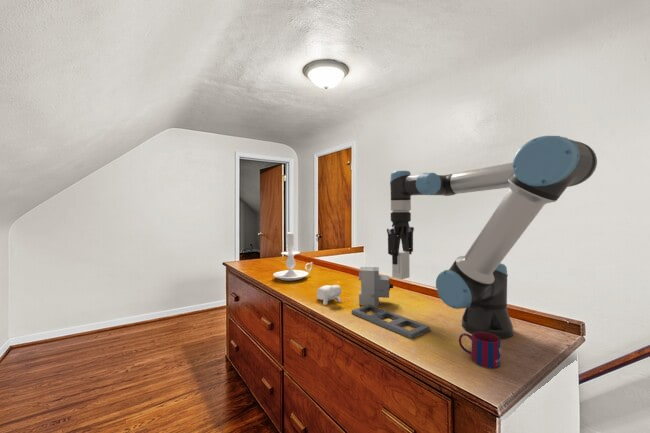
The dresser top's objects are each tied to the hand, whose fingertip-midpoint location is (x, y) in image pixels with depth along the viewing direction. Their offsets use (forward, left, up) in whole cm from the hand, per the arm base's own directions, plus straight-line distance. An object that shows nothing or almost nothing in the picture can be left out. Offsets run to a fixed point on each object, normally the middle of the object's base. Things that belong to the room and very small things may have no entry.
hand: (400, 271), depth 113 cm
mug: (-35, +11, -17) cm, 40 cm away
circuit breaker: (+15, -2, -17) cm, 23 cm away
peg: (0, 0, -2) cm, 2 cm away
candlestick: (+76, +3, -17) cm, 78 cm away
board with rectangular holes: (-2, +10, -17) cm, 19 cm away
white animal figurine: (+29, +13, -17) cm, 36 cm away
